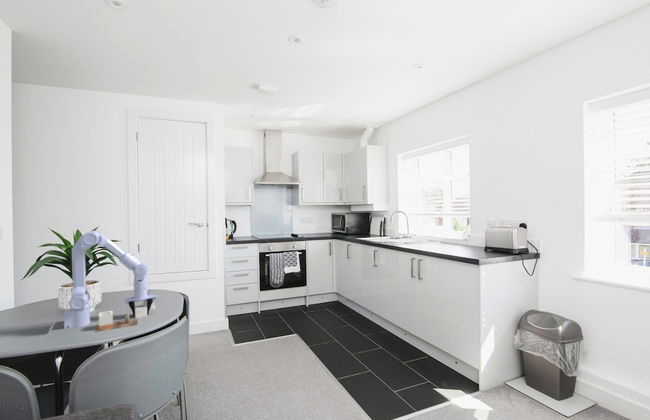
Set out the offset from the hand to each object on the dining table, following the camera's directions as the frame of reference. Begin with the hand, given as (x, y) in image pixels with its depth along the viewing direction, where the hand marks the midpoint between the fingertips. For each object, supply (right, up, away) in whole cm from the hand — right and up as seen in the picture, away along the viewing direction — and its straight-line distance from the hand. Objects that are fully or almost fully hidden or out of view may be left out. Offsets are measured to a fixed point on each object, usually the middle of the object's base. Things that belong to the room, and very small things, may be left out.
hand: (141, 315), depth 160 cm
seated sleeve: (-8, 0, -14) cm, 16 cm away
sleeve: (0, -1, 0) cm, 1 cm away
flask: (-3, -2, +12) cm, 13 cm away
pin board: (-4, -2, -12) cm, 13 cm away
